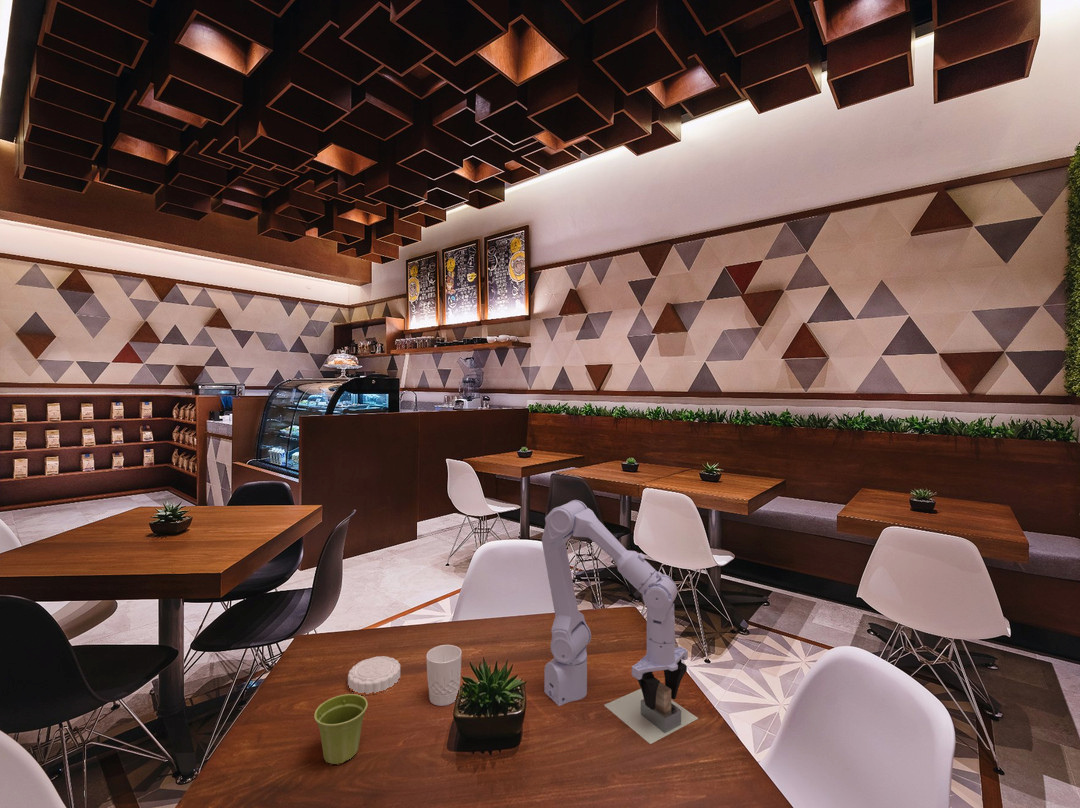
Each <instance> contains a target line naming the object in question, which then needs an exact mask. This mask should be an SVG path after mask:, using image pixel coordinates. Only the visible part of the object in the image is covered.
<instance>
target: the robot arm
mask: <svg viewBox="0 0 1080 808" xmlns="http://www.w3.org/2000/svg"><path fill="white" fill-rule="evenodd" d="M544 521H545V525H544V528H543V533H542V537H541V543H542V544H541V545H542V549H543V555H544V560H545V566H546V571H547V577H548V583H549V588H550V594H551V599H552V605H553V610H554V615H555V617H554V620H553V623H552V626H551V641H550V651H551V654H552V656H553V658H552V659H551V660H550V661H548V662H547V663H546V664H544V676H543V678H544V681H543V682H544V688H543V689H544V691H543V692H544V693H545V695H547V696H548V697H549V698H550V699H551V700H552V701H553V702H554V703H555V704H556V705H557V706H558V707H560V706H563V705H565V704H567V703H570V702H574V701H579V700H582V699H584V698H585V697H586V696H587V694H588V686H587V685H588V653H587V646H588V645H589V644H590V642H591V640H592V632H591V629H590V627H589V626H588V624H587V623H586V618H585V615H584V614H583V613H582V612H580V611H579V608H578V603H577V598H576V592H575V588H574V587H575V585H574V581H573V575H572V570H571V566H570V564H571V563H570V560H569V554H568V549H567V542H568V540H569V539H570V538H571V536H572V537H577V538H578V537H579V538H588V539H589V540H591V541H592V542H593V543H594V544H596V545H597V546H598V548H600V549H601V550H602V551H603V552H605V553H606V554H607V556H609V557H610V558H611V559H612V560H614V561H615V562H616V565H617V567H616V568H617V572H618V573H620V574H621V576H623V577H624V579H626V580H627V581H628V583H630V585H632V586H633V587H634V589H636V590H637V591H638V592H639V593H640V594H641V595H642V600H643V603H644V605H645V607H646V610H647V611H646V654H645V655H644V656H642V658H641V659H640V660H639V661H638V662H637V663H635V664H632V665H631V676H632V677H633V678H635V679H636V680H637V682H638V684H639V686H640V689H641V690H642V693H643V697H644V701H645V705H646V706H647V707H649V708H650V709H651V710H653V709H655V705H656V693H657V688H658V685H659V683H660V682H661V681H660V680H659V679H658V678H656V677H655V674H654V673H653V672H658V671H663V673H664V674H663V675H664V685H665V686H667V687H668V688H670V689H671V700H673V701H674V700H676V698H677V695H678V691H679V688H680V685H681V681H682V679H683V677H684V675H685V674H686V672H687V671H688V670H687V669H688V666H687V665H686V664H685V663H684V662H683V661H686V660H688V659H689V658H688V656H689V655H688V654H689V653H688V651H689V650H688V649H686V648H685V647H682V646H678V647H675V645H676V643H675V642H676V639H675V638H676V635H675V634H676V633H675V632H676V629H675V627H676V626H675V624H676V623H675V621H676V619H675V618H676V616H675V603H674V601H675V600H676V597H677V595H678V587H677V584H676V583H675V581H674V580H673V578H672V577H671V576H669V575H667V574H663V573H662V572H660V570H658V571H657V570H656V568H654V567H653V566H652V565H651V563H649V562H648V561H647V560H646V556H645V555H644V554H643V553H642V552H640V553H638V552H637V550H636V551H635V550H627V549H626V547H624V545H623V544H622V543H621V542H620V541H619V540H618V539H617V537H615V536H614V535H613V534H612V532H611V531H609V530H608V528H607V527H605V525H604V524H603V523H602V522H601V521H600V520H599V518H598V517H597V516H596V514H595V513H594V511H593V510H592V509H590V508H589V507H587V505H586V504H585V503H584V502H583V501H581V500H578V499H574V500H570V501H569V502H567V503H565V504H562V505H560V506H556V507H554V508H552V509H551V510H550V512H548V514H547V515H546V516H545V517H544Z"/></svg>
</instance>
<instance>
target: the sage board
mask: <svg viewBox="0 0 1080 808" xmlns="http://www.w3.org/2000/svg"><path fill="white" fill-rule="evenodd" d="M643 699H644V697H643V693H642V690H641V688H639V689H637V690H635V691H632V692H631V693H628V694H626V695H624V696H621V697H619V698H616V699H614V700H612V701H610V702H607V703H605V704H603V706H604V707H605V708H606V709H608V710H609V711H610V712H611V713H613V715H615V717H617V718H619V719H620V720H621V721H622V722H623V723H624V724H626V725H627V726H628V727H629V728H630V729H631V730H633V731H634V732H635V733H637V735H638V736H639V737H641V738H642V739H643V740H645V741H646V742H647V743H648V744H650V745H652V744H654V743H656V742H658V741H659V740H661V739H662V738H665V737H667V736H669V735H671V734H672V733H674V732H676V731H678V730H680V729H683V727H685V726H688V725H689V724H690V723H693V722H694V721H697V720H699V717H698V716H696V715H694V714H693V713H692V712H690V711H688V710H687V709H685V708H684V707H683V706H682V705H680V704H678V703H677V702H676V701H674V700H673V699H671V703H672V704H673V705H675V706H676V707H677V708H679V709H680V710H681V725H680V726H678V727H676V728H674V729H672V730H670V731H668V732H666V733H664V732H662V731H661V730H660V729H659V728H657V727H656V726H655V725H653V724H652V723H651V722H650V721H648V720H647V719H646V718H645V717H643V716H642V715H641V700H643Z"/></svg>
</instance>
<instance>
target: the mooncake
mask: <svg viewBox="0 0 1080 808" xmlns="http://www.w3.org/2000/svg"><path fill="white" fill-rule="evenodd" d="M399 678H400V679H401V663H399V661H398V660H397V659H395V657H389V656H385V655H383V656H382V655H381V656H380V655H379V656H378V655H377V656H375V657H370V658H366V659H363V660H361V661H359V662H357V664H355V665H353V666H352V667H351V669H350V670H349V671H348V675H347V686H348V685H349V688H351V689H353V691H355V692H358V693H364V692H365V693H366V694H369V693H372V692H374V693H376V692H379V691H383V690H386V689H387V688H389V687H392V686H393V685H394V683H397V682H398V683H399V681H398V679H399ZM349 688H348V689H349Z"/></svg>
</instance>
